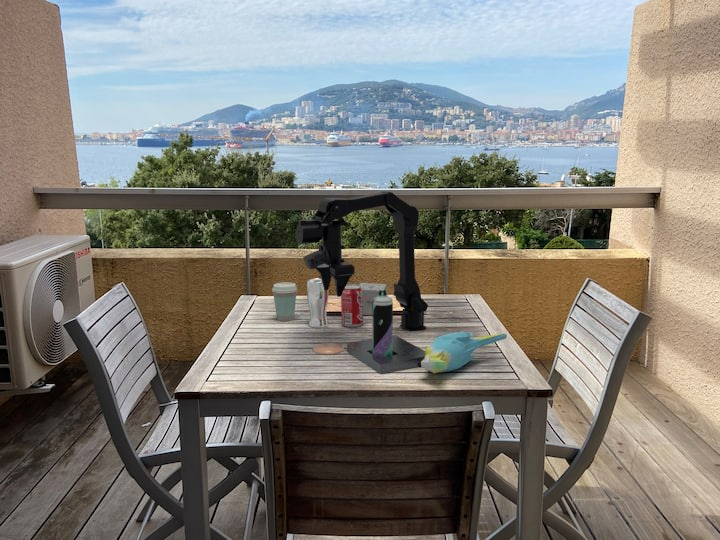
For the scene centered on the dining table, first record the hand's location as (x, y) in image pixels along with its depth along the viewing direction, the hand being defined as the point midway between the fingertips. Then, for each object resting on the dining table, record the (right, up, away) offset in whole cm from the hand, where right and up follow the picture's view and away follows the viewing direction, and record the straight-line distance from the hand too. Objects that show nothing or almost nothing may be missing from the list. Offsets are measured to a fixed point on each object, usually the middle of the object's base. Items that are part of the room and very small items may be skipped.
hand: (332, 293), depth 183 cm
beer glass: (-6, -11, +19) cm, 23 cm away
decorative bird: (+35, -20, -23) cm, 47 cm away
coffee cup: (-17, -10, +26) cm, 33 cm away
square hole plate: (+16, -17, -12) cm, 27 cm away
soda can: (+6, -11, +19) cm, 23 cm away
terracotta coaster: (-1, -16, -5) cm, 17 cm away
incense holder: (+12, -9, +32) cm, 35 cm away
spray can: (+14, -18, -15) cm, 28 cm away
